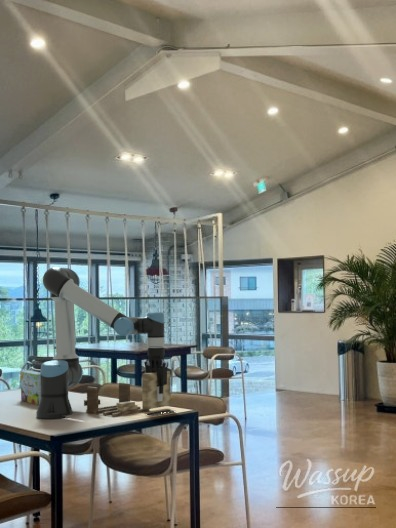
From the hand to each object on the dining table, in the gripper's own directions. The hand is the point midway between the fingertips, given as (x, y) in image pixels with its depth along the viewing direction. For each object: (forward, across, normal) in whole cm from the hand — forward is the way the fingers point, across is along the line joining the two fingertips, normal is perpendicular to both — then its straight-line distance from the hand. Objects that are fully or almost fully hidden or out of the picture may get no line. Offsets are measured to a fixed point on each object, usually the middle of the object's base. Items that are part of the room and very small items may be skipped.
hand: (156, 400), depth 288 cm
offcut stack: (+5, +5, +13) cm, 15 cm away
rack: (+5, +11, +13) cm, 18 cm away
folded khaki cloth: (+3, 0, 0) cm, 3 cm away
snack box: (+5, +73, +16) cm, 75 cm away
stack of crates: (+6, +41, +5) cm, 41 cm away
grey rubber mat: (+5, 0, 0) cm, 5 cm away
